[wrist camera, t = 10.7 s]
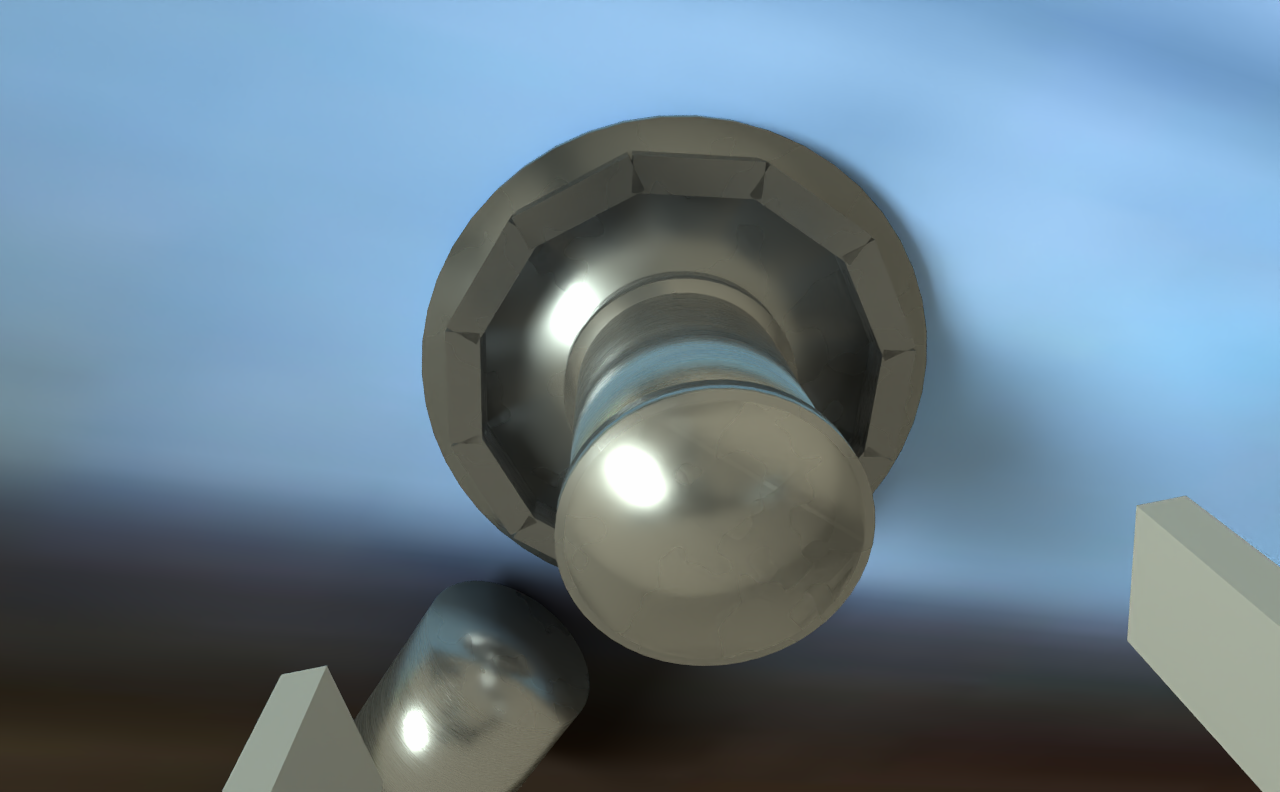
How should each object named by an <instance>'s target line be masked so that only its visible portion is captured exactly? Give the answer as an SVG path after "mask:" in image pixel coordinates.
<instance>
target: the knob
mask: <svg viewBox="0 0 1280 792" xmlns="http://www.w3.org/2000/svg"><path fill="white" fill-rule="evenodd" d="M563 391H564V406H565V411H566V417H567V420H568V423H569V426H570V429H571V431H572V433H573V437H572V448H571V460H570V466H569V469H568V471H567V473H566V476H565V478H564V481H563V483H562V487H561V491H560V494H559V498H558V504H557V513H556V523H555V533H554V538H555V553H556V558H557V563H558V567H559V571H560V574H561V576H562V579H563V582H564V584H565V587H566V589H567V590H568V592H569V594H570V596H571V597H572V599H573V601H574V603H575V604H576V605H577V606H578V608H579V609H580V610H581V612H582V613H583V614H584V616H585V617H586V618H587V619H588V620H589V621H590V622H591V623H592V624H593V625H595V626H596V627H597V628H598V629H599V630H600V631H602V632H603V633H604V634H606V635H607V636H608V637H609V638H611V639H612V640H614V641H616V642H617V643H619V644H621V645H623V646H624V647H626V648H628V649H630V650H633V651H635V652H637V653H640V654H642V655H644V656H648V657H651V658H654V659H658V660H661V661H665V662H671V663H676V664H682V665H696V666H711V665H726V664H733V663H740V662H744V661H748V660H752V659H756V658H760V657H763V656H766V655H768V654H771V653H774V652H777V651H779V650H781V649H783V648H785V647H787V646H789V645H792V644H794V643H795V642H797V641H799V640H800V639H802V638H804V637H805V636H807V635H808V634H810V633H811V632H813V631H814V630H815V629H817V628H818V627H819V626H820V625H822V624H823V623H824V622H826V621H827V620H828V619H829V618H830V617H831V616H832V615H833V614H834V613H835V612H836V611H837V610H838V609H839V608H840V607H841V605H842V604H843V603H844V602H845V600H846V599H847V598H848V597H849V595H850V594H851V593H852V591H853V589H854V588H855V586H856V584H857V583H858V581H859V579H860V578H861V576H862V573H863V571H864V569H865V566H866V564H867V562H868V559H869V555H870V552H871V548H872V545H873V538H874V531H875V506H874V501H873V495H872V490H871V487H870V484H869V481H868V478H867V475H866V473H865V471H864V469H863V467H862V465H861V463H860V461H859V459H858V458H857V456H856V454H855V453H854V451H853V450H852V448H851V447H850V445H849V444H848V442H847V441H846V440H845V438H844V437H843V435H842V434H841V433H840V431H839V430H838V429H837V428H836V427H835V426H834V425H833V424H832V423H831V422H830V421H829V420H828V419H827V418H826V417H825V416H824V415H823V414H822V413H820V412H819V411H817V410H816V409H815V407H814V406H813V404H812V402H811V401H810V399H809V398H808V396H807V394H806V393H805V391H804V390H803V388H802V386H801V385H800V383H799V382H798V374H797V367H796V362H795V357H794V354H793V351H792V349H791V346H790V343H789V341H788V339H787V338H786V336H785V334H784V332H783V330H782V329H781V327H780V326H779V324H778V323H777V321H776V320H775V319H774V317H773V316H772V314H771V313H770V312H769V310H768V309H767V308H766V307H765V306H764V305H763V304H762V303H761V302H760V301H759V300H758V299H757V298H756V297H755V296H753V295H752V294H751V293H749V292H748V291H747V290H745V289H744V288H742V287H740V286H738V285H737V284H735V283H733V282H731V281H728V280H726V279H723V278H721V277H718V276H714V275H710V274H707V273H701V272H693V271H670V272H663V273H656V274H653V275H649V276H646V277H642V278H640V279H637V280H635V281H632V282H630V283H628V284H626V285H624V286H622V287H621V288H619V289H617V290H616V291H614V292H613V293H611V294H610V295H609V296H607V297H606V298H605V299H604V300H602V301H601V302H600V303H599V304H598V305H597V306H596V307H595V308H594V309H593V310H592V311H591V312H590V314H589V315H588V316H587V318H586V319H585V320H584V322H583V323H582V325H581V326H580V328H579V330H578V332H577V333H576V335H575V337H574V340H573V342H572V345H571V348H570V350H569V354H568V359H567V363H566V370H565V378H564V388H563Z"/></svg>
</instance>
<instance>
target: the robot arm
mask: <svg viewBox="0 0 1280 792" xmlns="http://www.w3.org/2000/svg"><path fill="white" fill-rule="evenodd" d="M1127 641H1128V642H1129V643H1130V644H1131V645H1132V646H1133V647H1134V649H1135V650H1136V651H1137V652H1138V653H1139V654H1140V655H1141V656H1142V657H1143V659H1144V660H1145V661H1146V662H1147V663H1148V664H1149V665H1150V666H1151V668H1152V669H1153V670H1154V671H1155V672H1156V673H1157V674H1158V675H1159V676H1160V678H1161V679H1162V680H1163V681H1164V682H1165V683H1166V684H1167V685H1168V687H1169V688H1170V689H1171V690H1172V691H1173V692H1174V693H1175V694H1176V695H1177V697H1178V698H1179V699H1180V700H1181V701H1182V702H1183V703H1184V704H1185V705H1186V707H1187V708H1188V709H1189V710H1190V711H1191V712H1192V713H1193V714H1194V716H1195V717H1196V718H1197V719H1198V720H1199V721H1200V722H1201V723H1202V724H1203V726H1204V727H1205V728H1206V729H1207V730H1208V731H1209V732H1210V733H1211V735H1212V736H1213V737H1214V738H1215V739H1216V740H1217V741H1218V742H1219V743H1220V745H1221V746H1222V747H1223V748H1224V749H1225V750H1226V751H1227V752H1228V754H1229V755H1230V756H1231V757H1232V758H1233V759H1234V760H1235V761H1236V762H1237V764H1238V765H1239V766H1240V767H1241V768H1242V769H1243V770H1244V771H1245V773H1246V774H1247V775H1248V776H1249V777H1250V778H1251V779H1252V780H1253V781H1254V783H1255V784H1256V785H1257V786H1258V787H1259V788H1260V789H1261V790H1262V792H1280V567H1279V566H1278V565H1276V564H1275V563H1274V562H1273V561H1271V560H1270V559H1269V558H1267V557H1266V556H1265V555H1263V554H1262V553H1261V552H1259V551H1258V550H1257V549H1255V548H1254V547H1253V546H1251V545H1250V544H1249V543H1248V542H1246V541H1245V540H1244V539H1242V538H1241V537H1240V536H1238V535H1237V534H1236V533H1234V532H1233V531H1232V530H1230V529H1229V528H1228V527H1226V526H1225V525H1224V524H1222V523H1221V522H1220V521H1219V520H1217V519H1216V518H1215V517H1213V516H1212V515H1211V514H1209V513H1208V512H1207V511H1205V510H1204V509H1203V508H1201V507H1200V506H1199V505H1197V504H1196V503H1195V502H1194V501H1192V500H1191V499H1190V498H1188V497H1187V496H1182V497H1177V498H1172V499H1167V500H1162V501H1157V502H1152V503H1147V504H1142V505H1137V507H1136V521H1135V536H1134V550H1133V565H1132V579H1131V594H1130V608H1129V623H1128V637H1127ZM383 783H384V782H383V780H382V778H381V776H380V774H379V772H378V770H377V768H376V766H375V764H374V762H373V760H372V758H371V756H370V754H369V752H368V750H367V748H366V746H365V743H364V741H363V739H362V737H361V735H360V733H359V731H358V729H357V727H356V725H355V723H354V721H353V719H352V717H351V715H350V713H349V711H348V709H347V707H346V705H345V702H344V700H343V698H342V696H341V694H340V692H339V690H338V688H337V686H336V684H335V682H334V680H333V678H332V676H331V674H330V672H329V670H328V668H327V666H323V667H318V668H313V669H308V670H303V671H298V672H293V673H288V674H283V675H281V677H280V678H279V680H278V682H277V684H276V686H275V688H274V690H273V692H272V694H271V696H270V698H269V700H268V702H267V704H266V706H265V708H264V710H263V712H262V714H261V716H260V718H259V720H258V722H257V724H256V726H255V728H254V730H253V732H252V734H251V736H250V738H249V740H248V741H247V743H246V745H245V747H244V749H243V751H242V753H241V755H240V757H239V759H238V761H237V763H236V765H235V767H234V769H233V771H232V773H231V775H230V777H229V779H228V781H227V783H226V785H225V787H224V789H223V791H222V792H381V790H382V786H383Z"/></svg>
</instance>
